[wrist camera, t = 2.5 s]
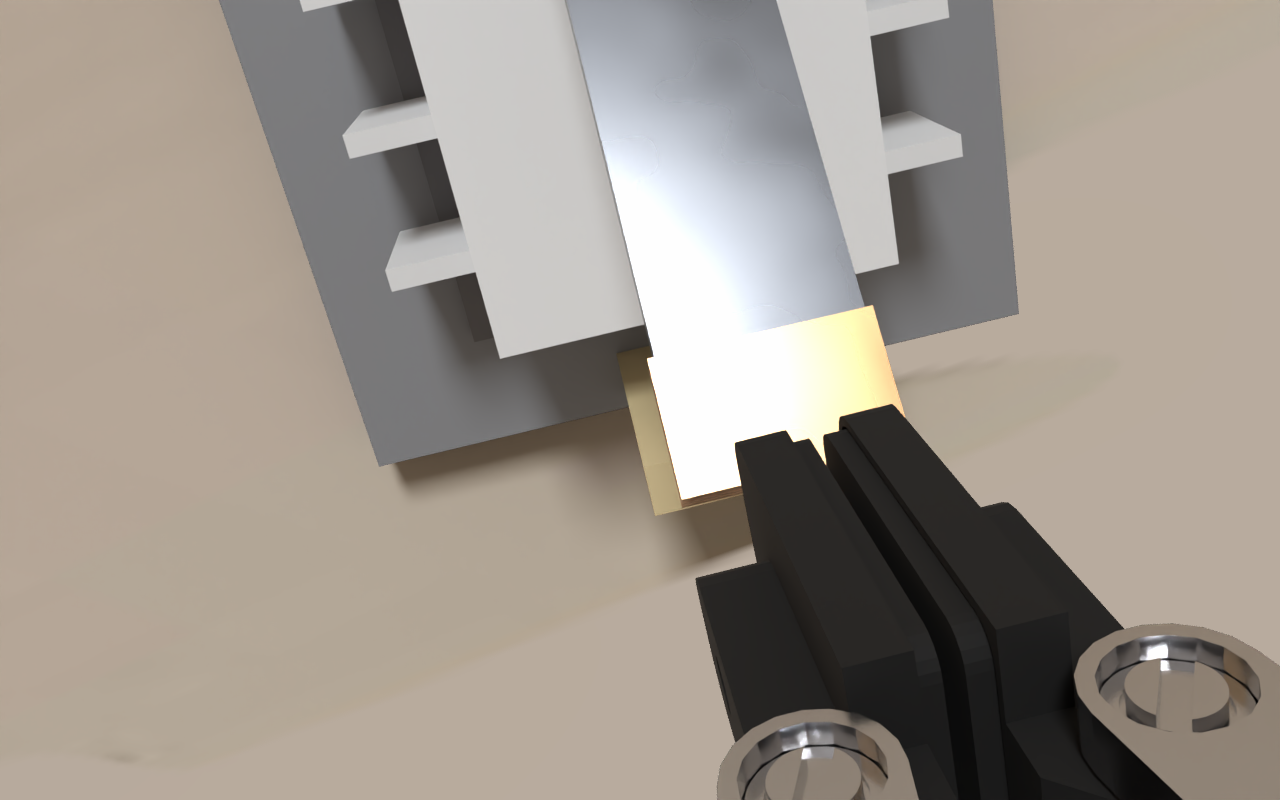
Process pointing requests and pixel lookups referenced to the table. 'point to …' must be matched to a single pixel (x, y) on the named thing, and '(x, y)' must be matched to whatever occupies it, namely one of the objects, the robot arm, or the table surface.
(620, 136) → the grey flat bar
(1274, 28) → the table surface
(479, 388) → the heatsink board
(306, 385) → the table surface
